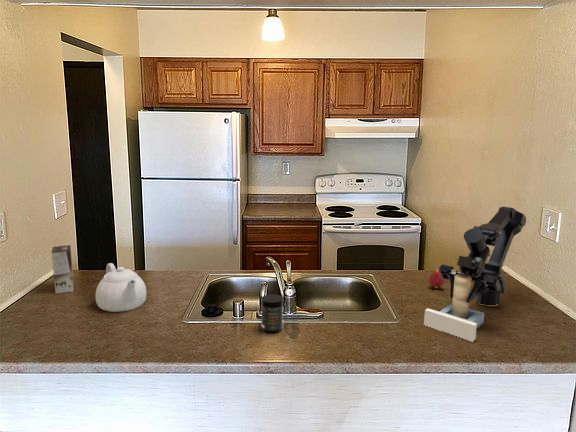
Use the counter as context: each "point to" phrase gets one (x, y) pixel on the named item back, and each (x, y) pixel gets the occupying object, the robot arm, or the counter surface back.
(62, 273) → the coffee box
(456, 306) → the dowel
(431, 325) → the white base plate
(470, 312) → the socket block
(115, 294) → the teapot
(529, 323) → the counter surface
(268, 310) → the supplement container
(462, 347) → the counter surface
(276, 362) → the counter surface
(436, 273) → the onion
